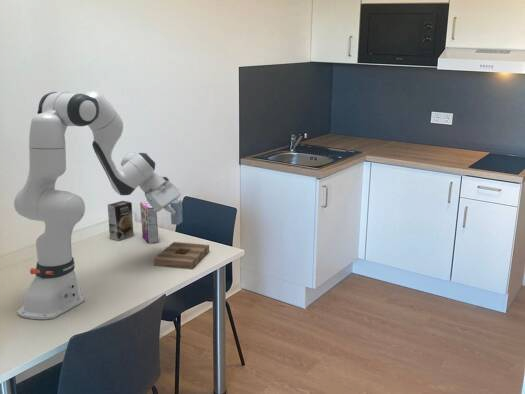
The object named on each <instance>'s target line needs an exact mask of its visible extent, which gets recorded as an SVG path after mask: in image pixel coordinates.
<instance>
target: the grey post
mask: <svg viewBox="0 0 525 394" xmlns="http://www.w3.org/2000/svg"><path fill="white" fill-rule="evenodd" d="M182 202H183V201H182V200H181V199H177V200H174V201H172V202H171V203H170V204H169V205H170V207H171V208H173V209H175V210H176V211H177V212H176V213H175V214H174V215H172V214H171V213H170V222H171V225H178V226H179V225H180V224H181V223H182V222H183V221H184V220H183V203H182Z"/></svg>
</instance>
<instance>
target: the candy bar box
mask: <svg viewBox="0 0 525 394" xmlns="http://www.w3.org/2000/svg"><path fill="white" fill-rule="evenodd" d="M139 204H140V205H139V206H140V217H141V218H140V219H141V232H142V238H143V239H144V240H145V241H146V242H147V244H148V245H149V244H151V245H152V244H156V243H159V228H158V215H157V214H158V212H157V211H155V210H154V209H153V208H152V206H151V205H150V204H149V203H148V201H142V202H140V203H139Z"/></svg>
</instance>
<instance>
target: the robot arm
mask: <svg viewBox="0 0 525 394" xmlns="http://www.w3.org/2000/svg"><path fill="white" fill-rule="evenodd" d="M38 103H39V104H38V108H37V109H38V110H37V114H36V115H34V116H33V117H32V119H31V121H30V127H29V139H28V141H29V142H28V149H29V150H28V151H29V153H28V154H29V155H28V156H29V157H28V158H29V170H28V175H27V178H26V179H27V180H26V182H25V184H24V185H23V188H21V190H19V191H18V192H17V193H16V195H15V197H14V200H13V205H14V210H15V211H16V213H17V214H18V215H20V216H22V217H23V218H26V219H29V220H31V221H39V222H44V226H45V228H44V232H43V233H41V234H40V235H39V236H38V237H37V239H35V240H36V241H35V249H36V257H37V262H36V266H35V268H33V267H32V268H30V270H29V274H30V275H35V277H34V278H33V279H32V280H31V281H32V282H31V283H30V285H29V287H28V288H27V290H26V292H24V295H23V305H22V306H20V308H19V309H18V310H17V311H16V314H17V315H18V316H19V317H22V318H25V319H31V320H51V319H52V320H53V319H54V318H57V317H59V316H61V315H62V314H64V313H66V312H67V311H69V310H71V309H73V308H75V307H77V306H78V305H80V304H81V303H84V301H85V298H84V297H85V296H83V295H82V293H81V287H80V283H79V282H80V281H79V277H78V276H77V274H76V272H75V268H76V266H75V264H76V263H75V259H74V257H73V253H72V249H73V248H72V234H73V230H74V228H75V226H76V225H77V224H78V223H79V222H81V220H82V219H83V218H84V215H85V213H86V212H85V211H86V205H85V201H84V199H83V198H82V197H81V196H79V195H77V194H76V193H73V192H70V191H67V190H59V189H56V181H57V180H58V178H59V177H62V176H63V175H64V174H65V172H66V170H67V158H66V157H67V156H66V155H67V154H66V152H67V149H66V136H65V134H66V130H67V128H68V127H85V126H88V128H89V129H90V130H91V132H92V136H93V140H92V141H93V142H91V143H92V144H91V146H92V149H93V151H94V153H95V155H96V157H97V159H98V161H99V163H100V165H101V167H102V169H103V171H104V172H105V174H106V176H107V178H108V181H109V183H110V185H111V188H112V189H113V190H114V192H115V193H116V194H118V195H120V196H131V195H132V193H134V191H135V190H136V189H137V188H138V187H139V188H140V190H141V191H142V192H143V193H144V197H145V199H146V202H148V203H149V204H150V205H151V206H152V208H153V209H154V210H155V211H157V213H158V212H159V213H160V211H162V210H165V211H166V212H169V213H170V215H171V214H172V215H174V214H175V213H176V212H177V211H176V210H175V209H173V208H171V205H170V203H171V202H172V201H174V200H179V197H181V196H182V195H181V192H180V190H179V189H178V188H177V186H176V185H175V184H174V183H172V182H171V180H170V178H169V177H168V176H161V175H159V174H158V173H157V172H155V169H156V162H155V161H154V160H153V159H152V158H151V157H150V156H149V154H147V152H138V153H136V152H130V153H127V154H126V155H125V156H124V157H123V158H122V160H121V161H120V166H121V167H120V168H117V166H116V164H115V162H114V160H113V158H112V154H113V150H114V148H115V146H116V144H117V143H118V141H120V138H121V136H122V134H123V131H124V123H123V119H122V118H121V116H120V114H119V113H118V112H117V110H116V108H115V107H114V106H113V105H112V104H111V102H110V101H108V99H106V97H105V96H103V95H102V94H101V93H100V92H98V91H96V90H89V91H86V92H84V93H76V92H71V91H51V92H48V93H46V94H44V95H43V96H42V97H41V99H40V100H39V102H38Z"/></svg>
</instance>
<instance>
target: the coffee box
mask: <svg viewBox="0 0 525 394" xmlns="http://www.w3.org/2000/svg"><path fill="white" fill-rule="evenodd" d="M132 204H133V203H132V202H131V201H126V200H120V201H117V202H113V203H112V202H111V203H109V204H107V213H108V215H107V216H108V218H107V219H108V229H109V239H111V240H114V241H117V242H119V241H122V240H126V239H129V238H132V237H134V221H133V205H132Z"/></svg>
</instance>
